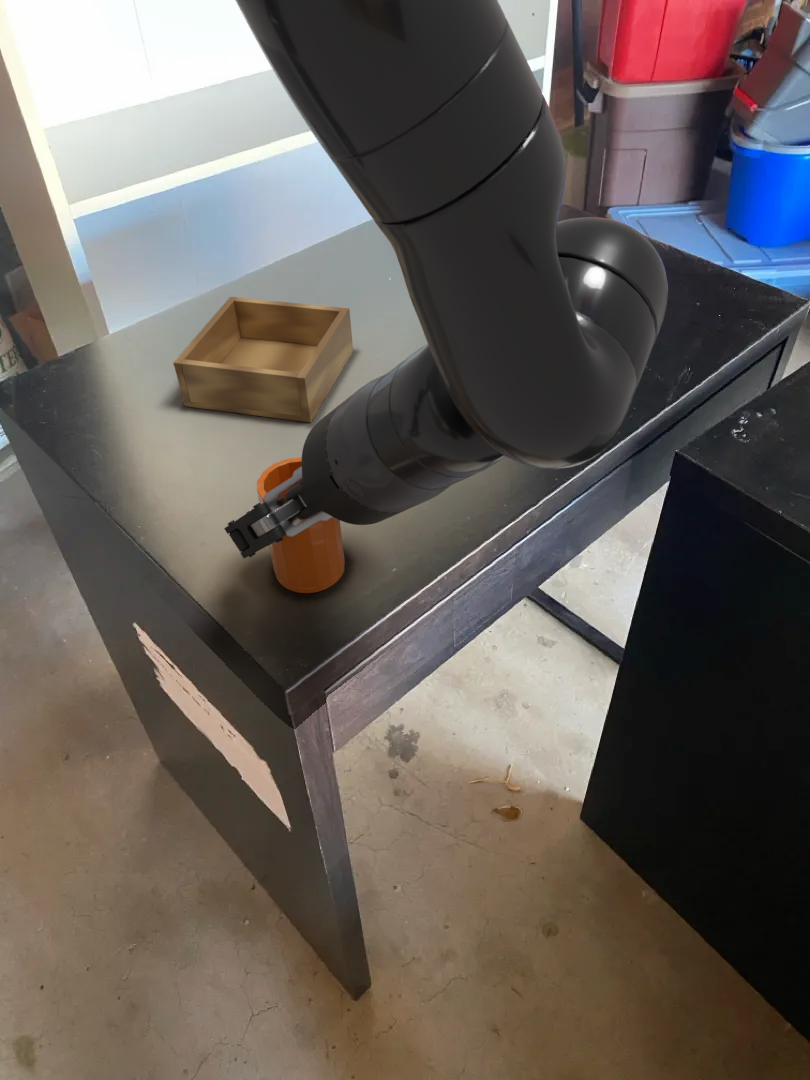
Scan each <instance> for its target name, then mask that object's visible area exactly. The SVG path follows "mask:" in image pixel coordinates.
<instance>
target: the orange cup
mask: <svg viewBox="0 0 810 1080" xmlns="http://www.w3.org/2000/svg"><path fill="white" fill-rule="evenodd" d="M301 466H302V456H300V457H292V458H286V459H283V460H280V461H277V462H275V463H272V464H271V465H270V466H269V467H267V468H266V469H265V470H263V471H262V472H261V475H260V476H259V477H258V478H257V481H256V493H257V497H258V503H259V502H260V504H262V503H264V496H265V494H266V493H268V492H269V491H271V490H272V489H274V488H275V487H277V486H279V485H280V484H282V483H283V482H285V481H286V480H288V479H290V478H291V477H292V476H293V473H294V471H295V470H297V469H298V468H300V467H301ZM301 481H302V480H301ZM301 481H300V482H301ZM300 482H298V483H300ZM298 483H297V484H298ZM297 484H295V485H297ZM295 485H293V486H295ZM293 486H292V487H293ZM292 487H290V488H292ZM290 488H289V489H290ZM289 489H287V490H286V491H285V493H284V497H285V494H286V492H287V491H288V490H289ZM291 500H292V499H291ZM288 502H289V501H288ZM271 512H272V511H271ZM298 519H299V518H298ZM307 519H308V518H307ZM300 520H306V519H300ZM282 538H283V540H281V541H280V542H278V543H276V541H275V542H274V543H272V544H270V545H268V548H269V553H270V557H271V558H270V559H271V562H272V568H273V571H274V574H275V578H276V579H277V582H278V583H279V584H280V585H281V586H282V587H283V588H285V589H287V590H288V591H291V592H293V593H298V594H299V593H300V594H313V593H318V592H319V593H320V592H322V591H324V590H327V589H329V588H330V587H332V586H333V585H335V584H336V583H337V582H338V581H339V580H340V579H341V578H342V576H343V575H344V572H345V568H346V561H345V552H344V544H343V537H342V528H341V521H340V520H338V519H336V518H334V517H333V518H331V519H329V520H328V521H319V522H317V523H315V524H314V525H312V526H310V527H308V528H307V529H305V530H303V531H302V532H300V533H298V534H297V535H295V536H293V537H289V536H287V535H285V536H283V537H282Z"/></svg>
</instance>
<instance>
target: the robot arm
mask: <svg viewBox="0 0 810 1080" xmlns="http://www.w3.org/2000/svg"><path fill="white" fill-rule="evenodd" d="M235 2H236V5H237V6H238V8H239V10H240V12H241V15H242V16H243V18H244V20H245V22H246V24H247V26H248V28H249V30H250V31H251V33H252V35H253V37H254V39H255V40H256V42H257V44H258V46H259V48H260V50H261V51H262V54H263V55H264V57H265V58H266V60H267V62H268V63H269V66H270V68H271V69H272V71H273V73H274V75H275V76H276V78H277V79H278V81H279V83H280V84H281V86H282V87H283V89H284V91H285V93H286V94H287V95H288V97H289V99H290V101H291V103H292V104H293V106H294V107H295V108H296V110H297V111H298V113H299V115H300V117H301V118H302V119H303V121H304V122H305V125H306V126H307V127H308V128H309V130H310V132H311V133H312V135H313V136H314V138H315V139H316V140H317V142H318V143H319V144H320V146H321V147H322V149H323V150H324V152H325V153H326V154H327V156H328V158H329V159H330V160H331V162H332V164H333V165H334V166H335V168H336V169H337V170H338V172H339V173H340V175H341V176H342V177H343V179H344V180H345V182H346V183H347V184H348V186H349V187H350V189H351V191H352V192H353V194H355V196H356V197H357V199H358V200H359V201H360V203H361V204H362V206H363V207H364V209H365V210H366V212H367V213H368V215H369V216H370V217H371V218H372V219H373V221H374V223H375V225H376V226H377V227H378V229H379V231H380V232H382V234H383V236H385V238H386V239H387V241H388V242H389V243H390V244H391V247H392V248H393V251H394V253H395V255H396V259H397V261H398V264H399V267H400V270H401V273H402V276H403V281H404V283H405V286H406V289H407V293H408V296H409V298H410V301H411V304H412V306H413V309H414V311H415V314H416V316H417V319H418V321H419V324H420V326H421V330H422V332H423V334H424V337H425V340H426V344H425V345H423V346H422V347H420V348H418V349H416V351H414V352H413V353H411V354H410V355H409V356H407V357H406V358H405V359H404V360H403V361H401V362H400V363H399V364H398V365H396V366H395V367H393V368H392V369H390V371H388V372H387V373H385V374H383V375H381V376H378V377H376V378H375V379H374V378H373V379H372V380H370V381H369V382H367V383H366V384H364V385H363V386H361V387H360V388H359V389H357V390H356V391H355V392H353V393H352V394H351V395H350V396H349V397H347V398H346V399H345V400H344V401H342V402H341V403H340V404H338V406H336V407H335V408H333V409H332V410H331V411H330V412H328V413H327V414H326V415H325V416H324V417H322V418H321V419H320V420H319V421H318V422H316V423H315V424H314V425H313V426H312V428H311V429H310V431H309V432H308V434H307V436H306V438H305V440H304V443H303V447H302V451H301V457H302V466H301V467H300V468H298V469H297V470H295V471H294V473H293V476H292V477H291V478H290V479H288V480H286V481H285V482H283V483H282V484H280V485H279V486H277V487H275V488H274V489H272V490H271V491H269V492H268V493H266V494H265V496H264V503H262V504H260V502H259V501H258V503H256V504H254V505H253V506H252V507H253V508H251V509H249V510H247V511H246V512H245V514H243V515H242V516H240V517H239V518H238V519H236V520H235V519H233V520H230V522H227V526H226V527H224V530H225V533H226V534H227V535H228V536H229V537H230V539H231V540H232V542H233V543H234V545H235V547H236V548H237V549H238V551H239V554H240V556H241V557H242V558H243V559H246V558H249V559H250V558H253V556H255V555H256V553H257V552H259V551H261V550H263V549H266V548H267V547H269V545H270V544H272V543H274V542H275V541H276V543H278V542H280V541H281V540H283V538H282V537H283V536H285V535H287V536H289V537H293V536H295V535H297V534H298V533H300V532H302V531H303V530H305V529H307V528H308V527H310V526H312V525H314V524H315V523H317V522H319V521H328V520H329V519H331V518H333V517H334V518H336V519H338V520H340V522H343V523H346V524H350V525H355V526H356V525H357V526H368V525H373V524H378V523H380V522H382V521H385V520H387V519H389V518H392V517H394V516H396V515H399V514H401V513H403V512H405V511H407V510H410V509H412V508H414V507H417V506H419V505H421V504H424V503H426V502H428V501H430V500H432V499H434V498H436V497H437V496H439V495H440V494H442V493H443V492H445V491H447V489H448V488H450V487H451V486H453V485H454V484H457V483H460V482H461V481H464V480H466V479H468V478H470V477H472V476H474V475H477V474H479V473H481V472H484V471H486V470H487V469H490V468H491V467H493V466H494V465H495V464H497V463H498V462H500V461H502V460H503V459H505V458H508V459H510V460H512V461H514V462H516V463H519V464H521V465H525V466H529V467H532V468H535V469H541V470H542V469H543V470H561V469H562V470H564V469H570V468H574V467H576V466H580V465H582V464H584V463H586V462H589V461H591V460H592V459H594V458H596V457H597V456H598V455H600V454H601V453H602V452H604V451H605V450H606V449H607V447H608V446H609V445H610V444H611V443H612V442H613V440H614V439H615V438H616V436H617V435H618V433H619V432H620V430H621V428H622V426H623V425H624V422H625V420H626V418H627V417H628V413H629V411H630V408H631V406H632V403H633V401H634V398H635V395H636V392H637V390H638V386H639V384H640V381H641V379H642V377H643V374H644V371H645V369H646V367H647V365H648V361H649V359H650V356H651V355H652V351H653V349H654V346H655V344H656V342H657V339H658V336H659V335H660V334H659V333H660V331H661V329H662V326H663V323H664V319H665V316H666V313H667V306H668V300H669V283H668V278H667V271H666V268H665V264H664V262H663V259H662V258H661V256H660V254H659V252H658V250H657V249H656V248H655V246H654V245H653V244H652V243H651V242H650V241H649V239H648V238H647V237H645V236H644V235H643V233H641V232H639V231H638V230H637V229H635V228H633V227H632V226H630V225H628V224H626V223H624V222H621V221H618V220H615V219H611V218H608V217H607V218H605V217H599V216H583V217H582V216H581V217H574V218H569V219H568V218H567V219H564V220H560V221H558V220H559V216H560V210H561V205H562V201H563V196H564V192H565V185H566V179H567V156H566V150H565V146H564V142H563V139H562V136H561V133H560V131H559V130H560V129H559V128H558V124H557V123H556V120H555V117H554V116H553V113H552V110H551V108H550V106H549V104H548V102H547V100H546V98H545V95H544V94H543V93H542V90H541V87H540V85H539V83H538V81H537V79H536V77H535V75H534V72H533V71H532V69H531V66H530V65H529V62H528V60H527V58H526V56H525V54H524V52H523V50H522V48H521V46H520V44H519V42H518V39H517V38H516V35H515V33H514V32H513V29H512V27H511V24H510V23H509V21H508V20H507V18H506V16H505V15H506V14H505V13H504V11H503V8H502V6H501V5H500V3H499V1H498V0H235ZM301 480H302V481H301ZM300 481H301V482H300ZM298 482H300V483H298ZM297 483H298V484H297ZM295 484H297V485H295ZM293 485H295V486H293ZM292 486H293V487H292ZM290 487H292V488H290ZM289 488H290V489H289ZM287 489H289V490H288V491H287V492H286V494H285V497H284V493H285V491H286V490H287ZM291 499H292V500H291ZM288 501H289V502H288ZM271 511H272V512H271ZM298 518H299V519H298ZM307 518H308V519H307ZM300 519H306V520H300Z"/></svg>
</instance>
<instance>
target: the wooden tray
mask: <svg viewBox="0 0 810 1080" xmlns="http://www.w3.org/2000/svg"><path fill="white" fill-rule="evenodd" d="M351 322H352V321H351V310H350V308H349V307H341V306H340V307H339V306H330V305H318V304H311V303H310V304H309V303H299V302H290V301H289V302H288V301H278V300H268V299H257V298H248V297H237V296H230V297H228V299H226V301H225V302H224V303H223V304H222V305H221V306H220V308H219V309H218V310H217V311H216V312H215V313H214V315H213V316H212V317H211V318H210V319H209V321H207V323H206V324H205V325H204V327H202V328H201V330H200V331H199V332H198V333H197V334H196V336H194V338H193V339H192V340H191V341H190V343H189V344H188V345H187V346H186V347H185V348H184V349H183V350H182V352H181V353H179V355H178V356H177V358H175V360H174V361H173V362H172V363H173V366H174V367H173V368H174V371H175V374H176V378H177V382H178V386H179V390H180V393H181V397H182V402H183V405H184V407H188V408H197V409H205V410H212V411H219V412H221V411H222V412H227V413H235V414H241V415H250V416H258V417H265V418H273V419H280V420H287V421H288V420H289V421H296V422H303V423H312V421H314V418H315V417H316V415H317V413H318V412H319V410H320V408H321V407H322V405H323V403H324V401H325V400H326V398H327V396H328V394H329V393H330V391H331V389H332V388H333V386H334V384H335V383H336V381H337V380H338V377H339V376H340V374H341V373H342V371H343V370H344V367H345V366H346V364H347V362H348V361H349V359H350V357H351V356H352V354H353V352H354V345H353V333H352V323H351Z"/></svg>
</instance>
